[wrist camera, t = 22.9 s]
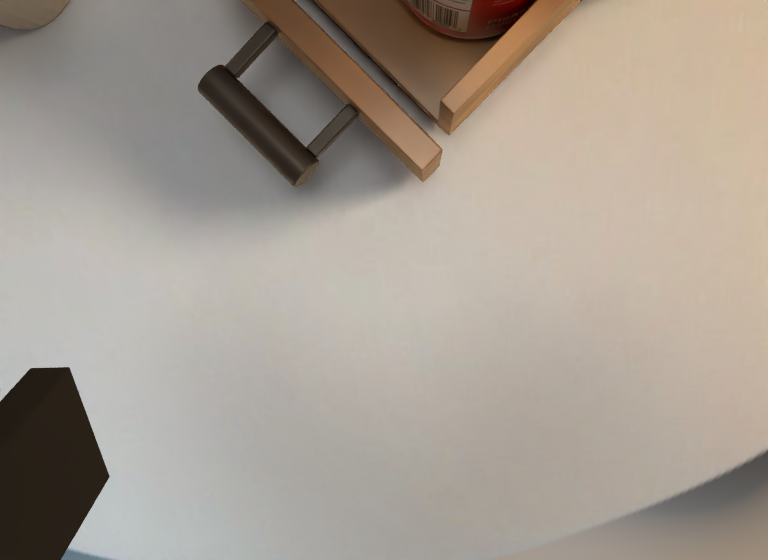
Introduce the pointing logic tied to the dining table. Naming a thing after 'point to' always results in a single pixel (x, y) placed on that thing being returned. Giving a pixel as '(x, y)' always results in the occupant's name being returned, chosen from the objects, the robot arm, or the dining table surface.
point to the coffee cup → (29, 12)
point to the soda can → (469, 16)
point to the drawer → (359, 91)
